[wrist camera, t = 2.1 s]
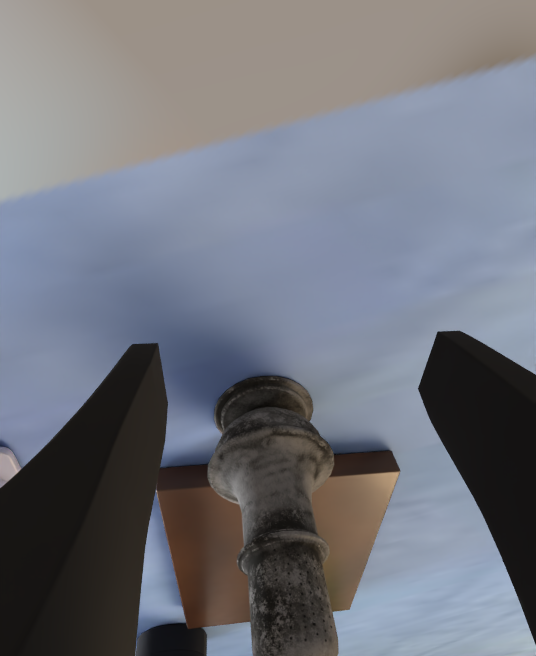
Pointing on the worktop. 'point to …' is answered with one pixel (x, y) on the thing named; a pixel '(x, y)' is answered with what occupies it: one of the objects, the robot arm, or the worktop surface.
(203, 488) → the cutting board
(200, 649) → the black bottle
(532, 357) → the worktop surface
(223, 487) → the grey stone baluster
